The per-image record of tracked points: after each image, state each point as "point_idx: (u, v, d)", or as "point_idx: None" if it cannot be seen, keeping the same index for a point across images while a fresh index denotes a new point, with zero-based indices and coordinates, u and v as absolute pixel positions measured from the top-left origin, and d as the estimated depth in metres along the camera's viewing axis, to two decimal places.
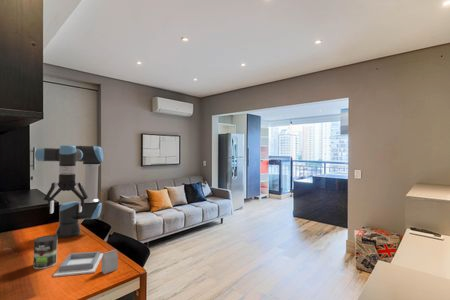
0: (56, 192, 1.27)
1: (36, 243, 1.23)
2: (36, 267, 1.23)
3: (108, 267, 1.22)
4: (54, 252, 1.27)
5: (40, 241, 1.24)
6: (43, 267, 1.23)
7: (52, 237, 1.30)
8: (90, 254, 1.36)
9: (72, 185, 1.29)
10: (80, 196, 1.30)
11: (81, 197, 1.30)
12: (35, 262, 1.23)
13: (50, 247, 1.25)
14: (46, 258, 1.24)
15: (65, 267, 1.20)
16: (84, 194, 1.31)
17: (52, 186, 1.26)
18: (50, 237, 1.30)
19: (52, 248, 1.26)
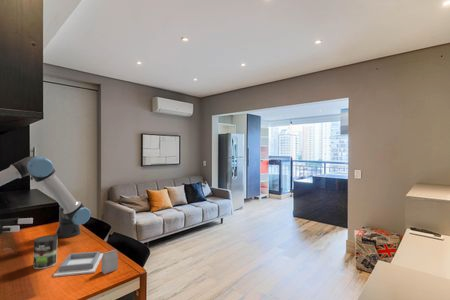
0: None
1: (36, 243, 1.23)
2: (36, 267, 1.23)
3: (108, 267, 1.22)
4: (54, 252, 1.27)
5: (40, 241, 1.24)
6: (43, 267, 1.23)
7: (52, 237, 1.30)
8: (90, 254, 1.36)
9: None
10: None
11: None
12: (35, 262, 1.23)
13: (50, 247, 1.25)
14: (46, 258, 1.24)
15: (65, 267, 1.20)
16: None
17: None
18: (50, 237, 1.30)
19: (52, 248, 1.26)
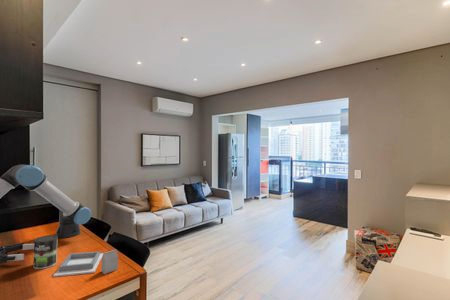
0: (10, 251, 1.27)
1: (36, 243, 1.23)
2: (36, 267, 1.23)
3: (108, 267, 1.22)
4: (54, 252, 1.27)
5: (40, 241, 1.24)
6: (43, 267, 1.23)
7: (52, 237, 1.30)
8: (90, 254, 1.36)
9: None
10: None
11: (2, 261, 1.16)
12: (35, 262, 1.23)
13: (50, 247, 1.25)
14: (46, 258, 1.24)
15: (65, 267, 1.20)
16: None
17: None
18: (50, 237, 1.30)
19: (52, 248, 1.26)
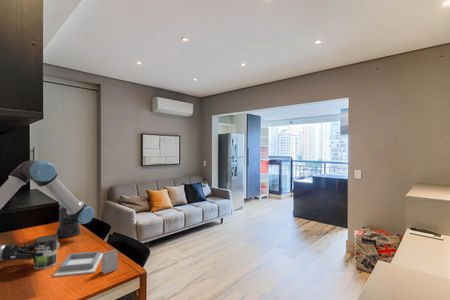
0: None
1: (36, 243, 1.23)
2: (36, 267, 1.23)
3: (108, 267, 1.22)
4: (54, 252, 1.27)
5: (40, 241, 1.24)
6: (43, 267, 1.23)
7: (52, 237, 1.30)
8: (90, 254, 1.36)
9: None
10: None
11: None
12: (35, 262, 1.23)
13: (50, 247, 1.25)
14: (46, 258, 1.24)
15: (65, 267, 1.20)
16: None
17: None
18: (50, 237, 1.30)
19: (52, 248, 1.26)
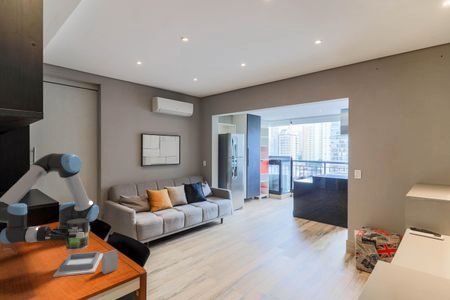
0: (64, 232, 1.30)
1: (69, 225, 1.23)
2: (69, 249, 1.23)
3: (108, 267, 1.22)
4: (86, 234, 1.28)
5: (72, 223, 1.24)
6: (76, 249, 1.24)
7: (84, 220, 1.30)
8: (90, 254, 1.36)
9: None
10: None
11: None
12: (68, 244, 1.23)
13: (82, 229, 1.25)
14: (78, 240, 1.24)
15: (65, 267, 1.20)
16: None
17: None
18: (81, 219, 1.31)
19: (84, 230, 1.26)
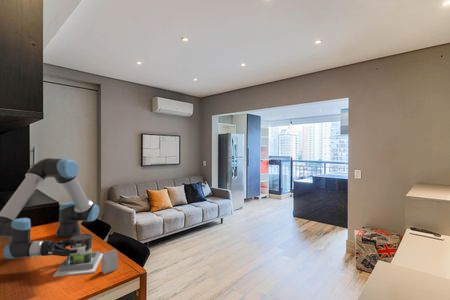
0: (67, 245, 1.31)
1: (73, 241, 1.24)
2: None
3: (108, 267, 1.22)
4: (90, 250, 1.29)
5: (76, 239, 1.25)
6: None
7: (87, 236, 1.31)
8: None
9: None
10: None
11: None
12: (72, 261, 1.24)
13: (86, 246, 1.26)
14: (82, 256, 1.25)
15: (65, 267, 1.20)
16: (61, 255, 1.19)
17: None
18: (85, 235, 1.32)
19: (88, 246, 1.27)
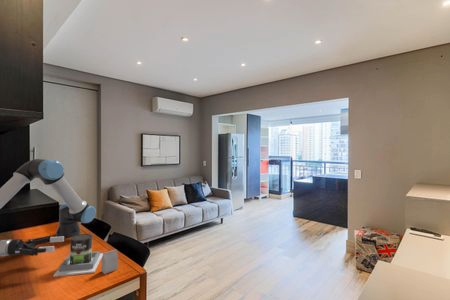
0: (38, 244, 1.28)
1: (73, 242, 1.24)
2: None
3: (108, 267, 1.22)
4: (90, 250, 1.29)
5: (76, 239, 1.25)
6: None
7: (87, 236, 1.31)
8: None
9: None
10: None
11: None
12: (72, 261, 1.24)
13: (86, 246, 1.26)
14: (82, 256, 1.25)
15: (65, 267, 1.20)
16: None
17: None
18: (85, 235, 1.32)
19: (88, 246, 1.27)
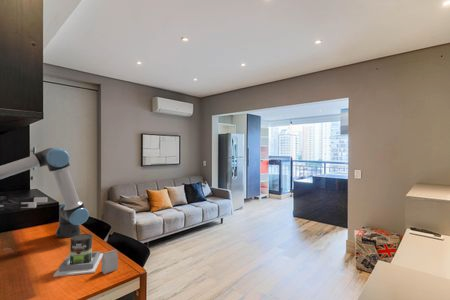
0: (22, 203, 1.35)
1: (73, 241, 1.24)
2: None
3: (108, 267, 1.22)
4: (90, 250, 1.29)
5: (76, 239, 1.25)
6: None
7: (87, 236, 1.31)
8: None
9: None
10: None
11: None
12: (72, 261, 1.24)
13: (86, 246, 1.26)
14: (82, 256, 1.25)
15: (65, 267, 1.20)
16: (11, 208, 1.23)
17: None
18: (85, 235, 1.32)
19: (88, 246, 1.27)
